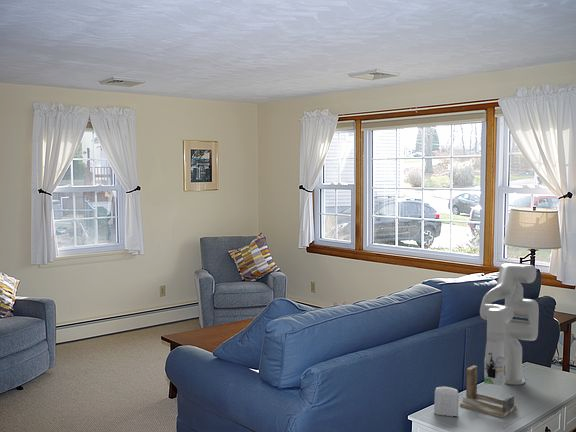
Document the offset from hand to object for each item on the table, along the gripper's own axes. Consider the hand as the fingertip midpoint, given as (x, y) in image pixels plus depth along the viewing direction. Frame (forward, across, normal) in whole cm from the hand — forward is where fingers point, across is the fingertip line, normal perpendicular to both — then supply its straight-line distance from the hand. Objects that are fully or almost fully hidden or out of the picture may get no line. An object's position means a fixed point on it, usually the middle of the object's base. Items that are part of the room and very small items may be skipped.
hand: (494, 375), depth 273 cm
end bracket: (+14, 0, -11) cm, 18 cm away
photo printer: (+16, +20, -13) cm, 29 cm away
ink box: (+4, 0, 0) cm, 4 cm away
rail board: (+16, 0, -3) cm, 16 cm away
